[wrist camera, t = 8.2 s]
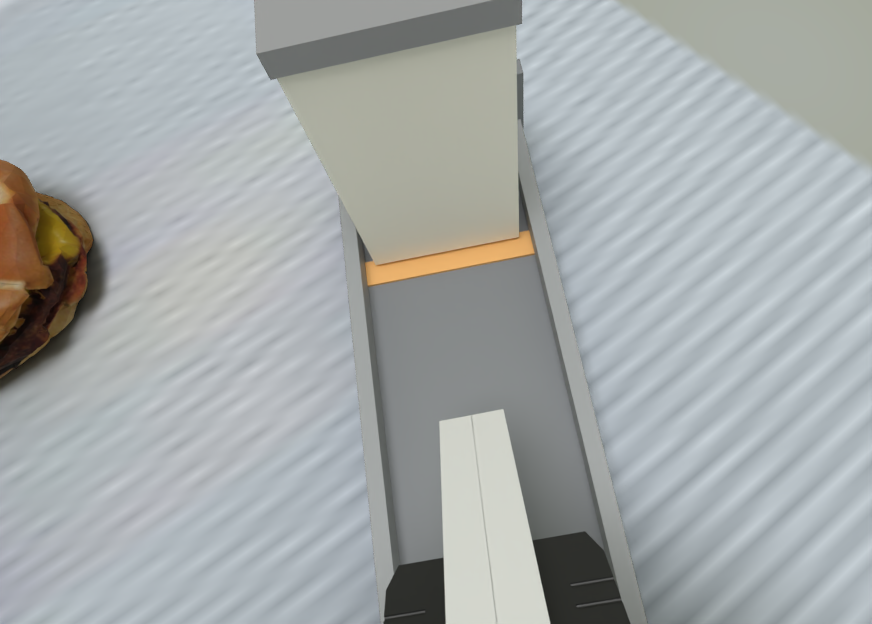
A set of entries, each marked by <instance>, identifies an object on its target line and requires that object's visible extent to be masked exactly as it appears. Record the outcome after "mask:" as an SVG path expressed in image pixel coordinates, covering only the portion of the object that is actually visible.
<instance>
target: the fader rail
mask: <svg viewBox="0 0 872 624" xmlns="http://www.w3.org/2000/svg"><path fill="white" fill-rule="evenodd" d="M517 124H518V191H519V237H517V238H512V239H507V240H501V241H496V242H491V243H486V244H481V245H476V246H471V247H466V248H461V249H456V250H451V251H446V252H441V253H435V254H430V255H425V256H420V257H415V258H410V259H405V260H400V261H395V262H390V263H385V264H380V265H375V263H374V261H373V259H372V257H371V255H370V254H369V252H368V250H367V248H366V246H365V244H364V242H363V240H362V238H361V237H360V235H359V233H358V231H357V229H356V227H355V225H354V223H353V221H352V220H351V218H350V216H349V214H348V212H347V210H346V208H345V206H344V204H343V202H342V201H341V199H340V197H339V195H338V198H339V208H340V218H341V228H342V238H343V248H344V258H345V268H346V279H347V289H348V299H349V309H350V319H351V329H352V339H353V349H354V360H355V370H356V380H357V390H358V400H359V410H360V420H361V430H362V441H363V451H364V461H365V471H366V481H367V491H368V501H369V511H370V521H371V532H372V542H373V552H374V562H375V572H376V582H377V592H378V602H379V613H380V623H381V624H383V622H384V609H385V596H386V589H387V587H388V585H389V583H390V581H391V579H392V577H393V575H394V573H395V571H396V569H397V567H398V565H403V564H409V563H415V562H421V561H426V560H432V559H438V558H444V553H443V522H442V491H441V459H440V428H439V421H443V420H448V419H453V418H459V417H464V416H469V415H474V414H480V413H485V412H490V411H495V410H501V409H503V410H504V414H505V419H506V423H507V428H508V432H509V437H510V441H511V446H512V451H513V455H514V460H515V464H516V469H517V473H518V478H519V483H520V487H521V492H522V496H523V501H524V505H525V510H526V515H527V519H528V524H529V528H530V533H531V537H532V540H537V539H543V538H549V537H555V536H560V535H566V534H572V533H578V532H583V531H585V532H586V533H587V534H588V535H589V536H590V537H591V538H592V539H593V540H594V541H595V542H596V543H597V544H598V545H599V546H600V547H601V548H602V549H603V550H604V552H605V554H606V557H607V560H608V563H609V565H610V568H611V571H612V574H613V577H614V581H615V582H616V585H617V587H618V590H619V593H620V596H621V600H622V602H623V604H624V607H625V610H626V612H627V615H628V618H629V621H630V623H631V624H648V623H647V619H646V615H645V611H644V607H643V603H642V599H641V595H640V591H639V587H638V583H637V579H636V575H635V571H634V567H633V563H632V559H631V555H630V551H629V548H628V544H627V540H626V536H625V532H624V528H623V524H622V520H621V516H620V512H619V508H618V504H617V500H616V496H615V492H614V488H613V484H612V480H611V476H610V472H609V468H608V464H607V460H606V456H605V452H604V448H603V444H602V440H601V436H600V432H599V429H598V425H597V421H596V417H595V413H594V409H593V405H592V401H591V397H590V393H589V389H588V385H587V381H586V377H585V373H584V369H583V365H582V361H581V357H580V353H579V349H578V345H577V341H576V337H575V333H574V329H573V325H572V321H571V317H570V314H569V310H568V306H567V302H566V298H565V294H564V290H563V286H562V282H561V278H560V274H559V270H558V266H557V262H556V258H555V254H554V250H553V246H552V242H551V238H550V234H549V230H548V226H547V222H546V218H545V214H544V210H543V206H542V202H541V199H540V195H539V191H538V187H537V183H536V179H535V175H534V171H533V167H532V163H531V159H530V155H529V151H528V147H527V143H526V139H525V135H524V131H523V70H522V66H521V63H520V59H517Z"/></svg>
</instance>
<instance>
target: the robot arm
mask: <svg viewBox="0 0 872 624" xmlns="http://www.w3.org/2000/svg"><path fill="white" fill-rule="evenodd" d="M439 428H440V459H441V491H442V522H443V553H444V558H438V559H432V560H426V561H421V562H415V563H409V564H403V565H398V567H397V569H396V571H395V573H394V575H393V577H392V579H391V581H390V583H389V585H388V587H387V589H386V596H385V609H384V622H383V624H631V623H630V621H629V618H628V615H627V612H626V610H625V607H624V604H623V602H622V600H621V596H620V593H619V590H618V587H617V585H616V582H615V581H614V577H613V574H612V571H611V568H610V565H609V563H608V560H607V557H606V554H605V552H604V550H603V549H602V548H601V547H600V546H599V545H598V544H597V543H596V542H595V541H594V540H593V539H592V538H591V537H590V536H589V535H588V534H587V533H586V532H585V531H583V532H578V533H572V534H566V535H560V536H555V537H549V538H543V539H537V540H532V537H531V533H530V528H529V524H528V519H527V515H526V510H525V505H524V501H523V496H522V492H521V487H520V483H519V478H518V473H517V469H516V464H515V460H514V455H513V451H512V446H511V441H510V437H509V432H508V428H507V423H506V419H505V414H504V410H503V409H501V410H495V411H490V412H485V413H480V414H474V415H469V416H464V417H459V418H453V419H448V420H443V421H439Z"/></svg>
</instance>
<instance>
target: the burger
mask: <svg viewBox="0 0 872 624" xmlns="http://www.w3.org/2000/svg"><path fill="white" fill-rule="evenodd" d="M92 242H93V238H92V235H91V232H90V229H89V226H88V224H87V223H86V221H85V220H84V219H83V218H82V216H81V215H80V214H79V213H78V212H77V211H75V210H74V209H72V208H71V207H70V206H68V205H67V204H66V203H65V202H63V201H61V200H58V199H54V198H53V197H50V196H47V195H43V194H40V193H37V192H35V190H34V188H33V186H32V184H31V182H30V180H29V179H28V177H27V175H26V174H25V173H24V172H23V171H22V170H21V169H20V168H18V167H16V166H15V165H13V164H11V163H9V162H7V161H3V160H0V378H2V377H3V376H4V375H6V374H7V373H8V372H10V371H11V370H12V369H14V368H17V367H18V366H19V365H21V364H22V363H24V362H25V361H26V360H27V359H28V358H30V357H32V356H34V355H35V354H36V353H37V352H39V351H40V350H41V349H42V348H43V347H44V346H45V345H46V344H47V343H48V342H49V340H50V338H52V337H54V336H55V335H57V334H58V333H59V332H60V331H61V330H63V329H64V328H65V327H66V326H67V325H68V324H69V323H70V322H71V321H72V319H73V318H74V313H75V310H76V307H77V304H78V302H79V300H80V299H81V298H83V296H84V294H85V291H86V288H87V284H88V280H87V274H86V273H85V272H86V271H87V267H86V265H87V255H86V254H87V253H88V251H89V250H90V248H91V246H92Z"/></svg>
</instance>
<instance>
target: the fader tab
mask: <svg viewBox="0 0 872 624" xmlns="http://www.w3.org/2000/svg"><path fill="white" fill-rule="evenodd" d="M254 8H255V32H256V54H257V56H258V58H259V59H260V61H261V63H262V65H263V67H264V69H265V70H266V72H267V74H268V76H269V78H270V80H272V79H276V78H277V80H278V82H279V83H280V85H281V87H282V89H283V91H284V93H285V95H286V97H287V99H288V100H289V102H290V104H291V106H292V108H293V110H294V112H295V114H296V116H297V117H298V119H299V121H300V123H301V125H302V127H303V129H304V131H305V133H306V134H307V136H308V138H309V140H310V142H311V144H312V146H313V148H314V150H315V151H316V153H317V155H318V157H319V159H320V161H321V163H322V165H323V167H324V168H325V170H326V172H327V174H328V176H329V178H330V180H331V182H332V184H333V185H334V187H335V189H336V191H337V193H338V195H339V197H340V199H341V201H342V202H343V204H344V206H345V208H346V210H347V212H348V214H349V216H350V218H351V220H352V221H353V223H354V225H355V227H356V229H357V231H358V233H359V235H360V237H361V238H362V240H363V242H364V244H365V246H366V248H367V250H368V252H369V254H370V255H371V257H372V259H373V261H374V263H375V265H380V264H385V263H390V262H395V261H400V260H405V259H410V258H415V257H420V256H425V255H430V254H435V253H441V252H446V251H451V250H456V249H461V248H466V247H471V246H476V245H481V244H486V243H491V242H496V241H501V240H507V239H512V238H517V237H519V191H518V124H517V57H516V25H519V24H522V0H254Z"/></svg>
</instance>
